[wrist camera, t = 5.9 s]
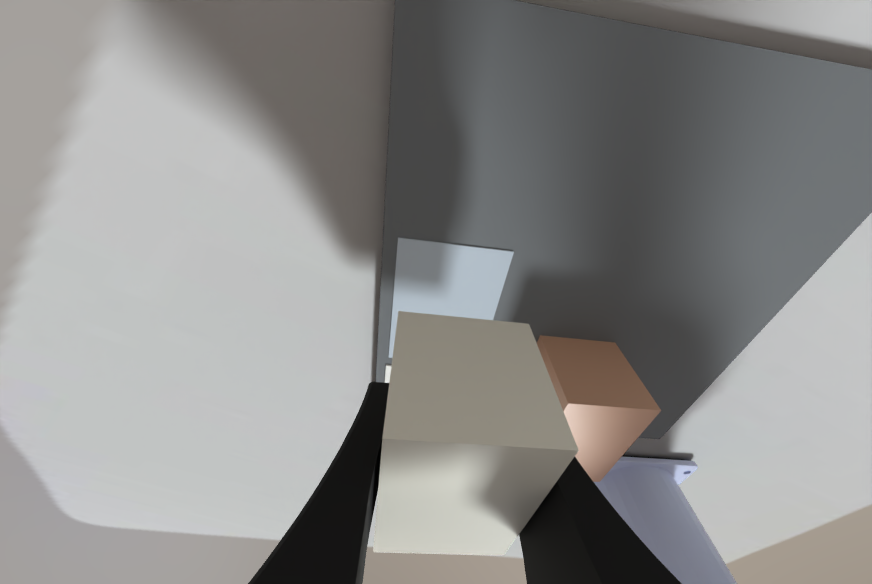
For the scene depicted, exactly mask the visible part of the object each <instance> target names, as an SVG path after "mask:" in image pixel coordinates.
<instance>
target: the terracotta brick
mask: <svg viewBox="0 0 872 584" xmlns="http://www.w3.org/2000/svg"><path fill="white" fill-rule="evenodd" d="M537 345H538V348H539V350H540V353H541V356H542V358H543V361H544V363H545V366H546V368H547V371H548V373H549V376H550V379H551V381H552V384H553V386H554V389H555V391H556V394H557V396H558V399H559V401H560V404H561V407H562V409H563V412H564V414H565V417H566V419H567V422H568V424H569V427H570V429H571V432H572V435H573V437H574V440H575V442H576V445H577V447H578V450H579V451H578V452H577V454H576V455H575V457H576V459H577V460H578V461H579V463H580V464H581V466H582V467H583V468H584V470H585V471H586V473H587V474H588V475H589V477H590V478H591V479H592V481H593V482H600V481H601V480H602V479H603V477H604V476H605V475H606V474H607V473H608V472H609V471H610V469H611V468H612V467H613V466H614V465H615V464H616V462H617V461H618V460H619V459H620V458H621V457H622V455H623V454H624V453H625V452H626V451H627V450H628V449H629V447H630V446H631V445H632V444H633V443H634V442H635V440H636V439H637V438H638V437H639V436H640V435H641V433H642V432H643V431H644V430H645V429H646V428H647V426H648V425H649V424H650V423H651V422H652V421H653V420H654V418H655V417H656V416H657V415H658V414H659V413H660V411H661V409H660V408H659V406H658V405H657V403H656V402H655V400H654V399H653V397H652V396H651V395H650V393H649V392H648V390H647V389H646V387H645V386H644V384H643V383H642V381H641V380H640V378H639V377H638V375H637V374H636V372H635V371H634V370H633V368H632V367H631V365H630V364H629V362H628V361H627V359H626V358H625V356H624V355H623V353H622V352H621V350H620V349H619V347H618V346H617V345H616V343H615V342H605V341H594V340H584V339H573V338H563V337H552V336H542V335H540V336H539V339H538V341H537Z"/></svg>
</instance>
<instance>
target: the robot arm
mask: <svg viewBox="0 0 872 584" xmlns="http://www.w3.org/2000/svg"><path fill="white" fill-rule="evenodd" d="M388 390H389V383H383V382H371V383H370V384H369V386H368V389H367V392H366V395H365V398H364V400H363V403H362V405H361V407H360V410H359V412H358V414H357V416H356V418H355V421H354V423H353V425H352V427H351V428H350V430H349V432H348V434H347V436H346V438H345V440H344V442H343V444H342V446H341V448H340V449H339V451H338V453H337V455H336V456H335V458H334V460H333V461H332V463H331V465H330V467H329V468H328V470H327V472H326V473H325V475H324V477H323V478H322V480H321V482H320V483H319V485H318V486H317V488H316V490H315V491H314V493H313V494H312V496H311V497H310V499H309V500H308V502H307V503H306V505H305V506H304V508H303V509H302V511H301V512H300V514H299V515H298V517H297V518H296V520H295V521H294V523H293V524H292V525H291V527H290V528H289V530H288V531H287V532H286V534H285V535H284V537H283V538H282V539H281V541H280V542H279V544H278V545H277V546H276V548H275V549H274V550H273V552H272V553H271V555H270V556H269V557H268V559H267V560H266V561H265V563H264V564H263V565H262V567H261V568H260V569H259V570H258V572H257V573H256V574H255V576H254V577H253V578H252V580H251V581H250V582H249V583H248V584H362V582H363V574H364V566H365V557H366V550H367V544H368V538H369V532H370V527H371V522H372V517H373V511H374V506H375V501H376V496H377V491H378V486H379V474H380V462H381V449H382V438H383V430H384V422H385V414H386V406H387V398H388ZM697 468H698V466H697V465H696V463H695V462H694V461H687V460H671V459H655V458H638V457H621V458H620V459H619V460H618V461H617V462H616V464H615V465H614V466H613V467H612V468H611V469H610V471H609V472H608V473H607V474H606V475H605V476H604V477H603V479H602V480H601V481H600V482H593V481H592V479H591V478H590V477H589V475H588V474H587V473H586V471H585V470H584V468H583V467H582V466H581V464H580V463H579V461H578V460H577V459H576V457H574V458H573V459H572V461H571V462H570V464H569V465H568V466H567V468H566V469H565V471H564V472H563V473H562V475H561V476H560V478H559V479H558V480H557V482H556V483H555V485H554V486H553V487H552V489H551V490H550V492H549V493H548V494H547V496H546V497H545V499H544V500H543V501H542V503H541V504H540V506H539V507H538V508H537V510H536V511H535V513H534V514H533V515H532V517H531V518H530V520H529V521H528V522H527V524H526V525H525V527H524V528H523V529H522V531H521V532H520V534H519V536H520V541H521V546H522V552H523V558H524V565H525V572H526V579H527V584H737V583H736V581H735V579H734V578H733V576H732V574H731V573H730V571H729V569H728V568H727V566H726V564H725V562H724V561H723V559H722V557H721V556H720V554H719V552H718V551H717V549H716V547H715V546H714V544H713V542H712V541H711V539H710V537H709V536H708V534H707V532H706V531H705V529H704V527H703V526H702V524H701V522H700V521H699V519H698V517H697V516H696V514H695V512H694V511H693V509H692V507H691V506H690V504H689V502H688V501H687V499H686V497H685V496H684V494H683V492H682V491H681V489H680V487H679V486H678V485H679V484H681V483H682V482H683V481H684V480H685V479H686V478H687V477H689V476H690V475H691V474H692V473H693V472H694V471H696V470H697Z"/></svg>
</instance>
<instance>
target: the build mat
mask: <svg viewBox="0 0 872 584" xmlns="http://www.w3.org/2000/svg"><path fill="white" fill-rule="evenodd" d="M871 212H872V69H867V68H861V67H856V66H851V65H846V64H841V63H836V62H830V61H825V60H820V59H815V58H810V57H805V56H799V55H794V54H789V53H784V52H779V51H774V50H769V49H763V48H758V47H753V46H748V45H743V44H738V43H732V42H727V41H722V40H717V39H712V38H707V37H701V36H696V35H691V34H686V33H681V32H676V31H671V30H665V29H660V28H655V27H650V26H645V25H640V24H634V23H629V22H624V21H619V20H614V19H609V18H604V17H598V16H593V15H588V14H583V13H578V12H573V11H567V10H562V9H557V8H552V7H547V6H542V5H536V4H531V3H526V2H521V1H516V0H395V14H394V33H393V53H392V72H391V92H390V111H389V131H388V150H387V170H386V190H385V209H384V229H383V248H382V268H381V287H380V307H379V326H378V346H377V365H376V382H383V383H389V382H390V374H391V366H392V358H393V350H394V342H395V334H396V326H397V318H398V311H404V312H414V313H424V314H434V315H445V316H455V317H465V318H475V319H485V320H495V321H506V322H516V323H526V324H529V325H530V328H531V330H532V333H533V335H534V338H535V340H536V343H537V341H538V339H539V336H540V335H542V336H552V337H563V338H573V339H584V340H594V341H605V342H615V343H616V345H617V346H618V347H619V349H620V350H621V352H622V353H623V355H624V356H625V358H626V359H627V361H628V362H629V364H630V365H631V367H632V368H633V370H634V371H635V372H636V374H637V375H638V377H639V378H640V380H641V381H642V383H643V384H644V386H645V387H646V389H647V390H648V392H649V393H650V395H651V396H652V397H653V399H654V400H655V402H656V403H657V405H658V406H659V408H660V409H661V411H660V413H659V414H658V415H657V416H656V417H655V418H654V420H653V421H652V422H651V423H650V424H649V425H648V426H647V428H646V429H645V430H644V431H643V432H642V433H641V435H640V436H639V437H638V438H652V439H660V438H661V437H662V436H663V435H664V434H665V433H666V432H667V431H668V430H669V429H670V427H671V426H672V425H673V424H674V423H675V422H676V421H677V420H678V419H679V418H680V417H681V416H682V415H683V414H684V412H685V411H686V410H687V409H688V408H689V407H690V406H691V405H692V404H693V403H694V402H695V401H696V400H697V399H698V398H699V396H700V395H701V394H702V393H703V392H704V391H705V390H706V389H707V388H708V387H709V386H710V385H711V384H712V383H713V381H714V380H715V379H716V378H717V377H718V376H719V375H720V374H721V373H722V372H723V371H724V370H725V369H726V368H727V366H728V365H729V364H730V363H731V362H732V361H733V360H734V359H735V358H736V357H737V356H738V355H739V354H740V353H741V351H742V350H743V349H744V348H745V347H746V346H747V345H748V344H749V343H750V342H751V341H752V340H753V339H754V338H755V336H756V335H757V334H758V333H759V332H760V331H761V330H762V329H763V328H764V327H765V326H766V325H767V324H768V323H769V322H770V320H771V319H772V318H773V317H774V316H775V315H776V314H777V313H778V312H779V311H780V310H781V309H782V308H783V307H784V305H785V304H786V303H787V302H788V301H789V300H790V299H791V298H792V297H793V296H794V295H795V294H796V293H797V292H798V290H799V289H800V288H801V287H802V286H803V285H804V284H805V283H806V282H807V281H808V280H809V279H810V278H811V277H812V275H813V274H814V273H815V272H816V271H817V270H818V269H819V268H820V267H821V266H822V265H823V264H824V263H825V262H826V260H827V259H828V258H829V257H830V256H831V255H832V254H833V253H834V252H835V251H836V250H837V249H838V248H839V247H840V246H841V244H842V243H843V242H844V241H845V240H846V239H847V238H848V237H849V236H850V235H851V234H852V233H853V232H854V231H855V229H856V228H857V227H858V226H859V225H860V224H861V223H862V222H863V221H864V220H865V219H866V218H867V217H868V216H869V214H870V213H871Z"/></svg>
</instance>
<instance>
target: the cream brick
mask: <svg viewBox="0 0 872 584" xmlns="http://www.w3.org/2000/svg"><path fill="white" fill-rule="evenodd" d="M578 451H579V450H578V447H577V445H576V442H575V440H574V437H573V435H572V432H571V429H570V427H569V424H568V422H567V419H566V417H565V414H564V412H563V409H562V407H561V404H560V401H559V399H558V396H557V394H556V391H555V389H554V386H553V384H552V381H551V379H550V376H549V373H548V371H547V368H546V366H545V363H544V361H543V358H542V356H541V353H540V350H539V348H538V345H537V343H536V340H535V338H534V335H533V333H532V330H531V328H530V325H529V324H526V323H516V322H506V321H495V320H485V319H475V318H465V317H455V316H445V315H434V314H424V313H414V312H404V311H398V318H397V326H396V334H395V342H394V350H393V358H392V366H391V374H390V382H389V390H388V398H387V406H386V414H385V422H384V430H383V438H382V449H381V462H380V474H379V486H378V498H377V511H376V523H375V535H374V547H373V552H388V553H424V554H459V555H494V556H504V555H505V553H506V552H507V550H508V549H509V548H510V546H511V545H512V543H513V542H514V541H515V539H516V538H517V536H518V535H519V534H520V532H521V531H522V529H523V528H524V527H525V525H526V524H527V522H528V521H529V520H530V518H531V517H532V515H533V514H534V513H535V511H536V510H537V508H538V507H539V506H540V504H541V503H542V501H543V500H544V499H545V497H546V496H547V494H548V493H549V492H550V490H551V489H552V487H553V486H554V485H555V483H556V482H557V480H558V479H559V478H560V476H561V475H562V473H563V472H564V471H565V469H566V468H567V466H568V465H569V464H570V462H571V461H572V459H573V458H574V457H575V455H576V454H577V452H578Z"/></svg>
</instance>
